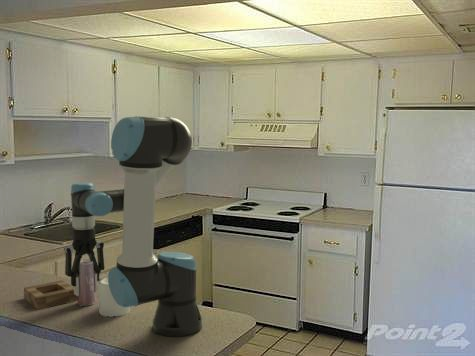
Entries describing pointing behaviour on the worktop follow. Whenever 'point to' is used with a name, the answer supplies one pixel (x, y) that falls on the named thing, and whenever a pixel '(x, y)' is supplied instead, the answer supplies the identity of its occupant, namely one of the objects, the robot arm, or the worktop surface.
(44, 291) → the socket block
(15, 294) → the worktop surface
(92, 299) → the beverage can
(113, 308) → the mug
